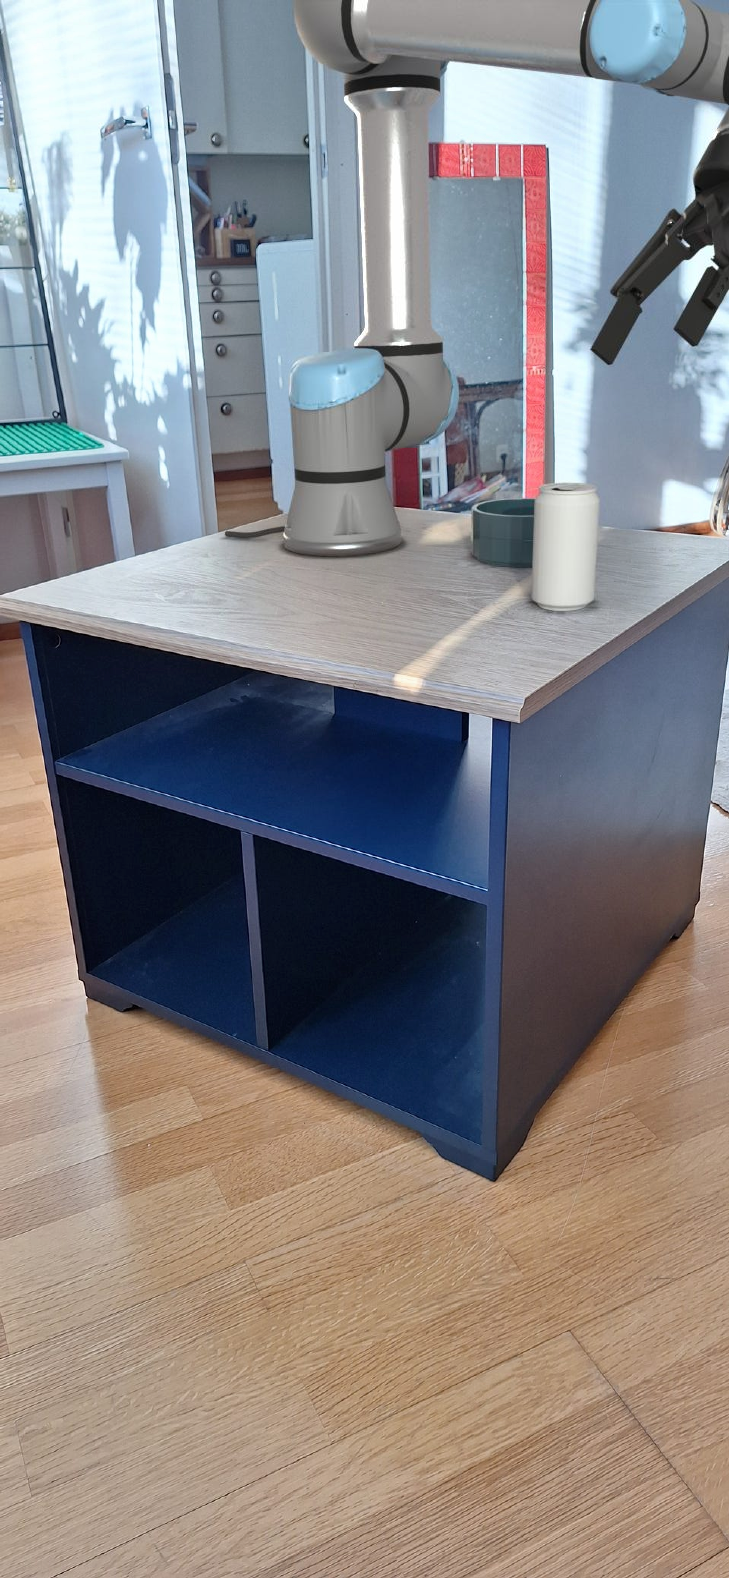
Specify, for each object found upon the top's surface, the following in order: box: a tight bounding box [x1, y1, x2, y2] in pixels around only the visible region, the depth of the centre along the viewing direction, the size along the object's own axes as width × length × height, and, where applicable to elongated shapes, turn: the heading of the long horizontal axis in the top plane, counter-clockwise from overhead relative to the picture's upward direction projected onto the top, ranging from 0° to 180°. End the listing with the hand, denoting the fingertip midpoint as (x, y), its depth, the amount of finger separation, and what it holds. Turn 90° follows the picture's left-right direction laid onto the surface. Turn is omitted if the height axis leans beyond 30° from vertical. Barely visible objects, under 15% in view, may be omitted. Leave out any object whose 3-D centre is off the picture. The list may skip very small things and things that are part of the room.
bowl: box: [470, 497, 536, 568], centre depth 134 cm, size 12×12×6 cm
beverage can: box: [530, 482, 601, 612], centre depth 112 cm, size 6×6×12 cm
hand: (640, 348), depth 109 cm, fingers open, 13 cm apart
